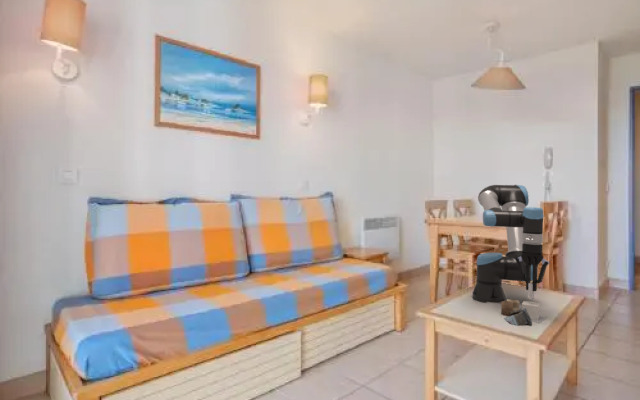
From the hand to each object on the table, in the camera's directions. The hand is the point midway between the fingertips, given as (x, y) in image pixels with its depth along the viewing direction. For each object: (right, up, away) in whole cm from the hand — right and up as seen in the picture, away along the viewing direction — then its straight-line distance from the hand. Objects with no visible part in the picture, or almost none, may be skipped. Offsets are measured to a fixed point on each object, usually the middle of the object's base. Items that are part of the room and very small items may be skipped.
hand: (531, 298), depth 159 cm
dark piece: (-10, -10, -4) cm, 14 cm away
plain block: (0, -8, +1) cm, 9 cm away
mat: (0, -9, +1) cm, 9 cm away
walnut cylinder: (-9, -9, +4) cm, 13 cm away
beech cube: (-3, -9, +10) cm, 13 cm away
